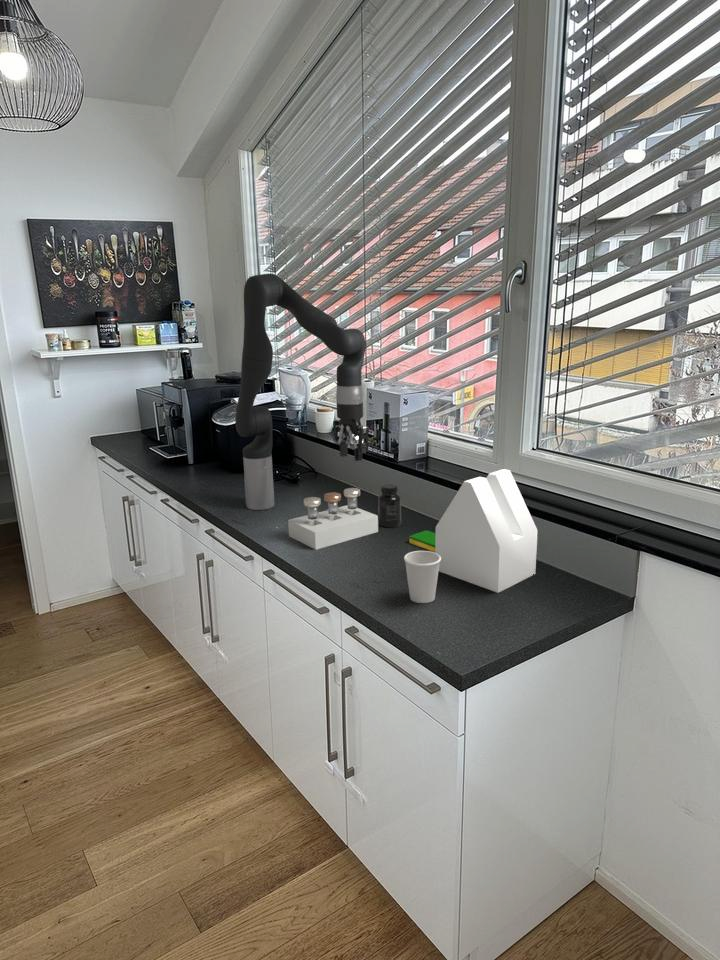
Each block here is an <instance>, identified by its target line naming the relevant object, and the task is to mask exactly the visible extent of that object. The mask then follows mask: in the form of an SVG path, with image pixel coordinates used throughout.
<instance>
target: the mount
mask: <svg viewBox="0 0 720 960" xmlns="http://www.w3.org/2000/svg"><path fill="white" fill-rule="evenodd" d="M287 521H288V537H289V538H291V539H294V540H296V541H297V542H300V543H301V544H304V545H305V546H308V547H309V548H311V549H314V550H320V549H324V548H327V547H330V546H334V545H337V544H340V543H344V542H348V541H350V540H355V539H358V538H361V537H365V536H369V535H372V534H375V533H379V515H377V514H375V513H372V512H369V511H367V510H364V509H362V508H359V507H357V509H348V504H347V505H343V506H338V513H337V514H328V509H326V510H323V511H318V518H317V519H314V520H310V519H308V514H306V515H302V516H299V517H293V518H291V519H288V520H287Z"/></svg>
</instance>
